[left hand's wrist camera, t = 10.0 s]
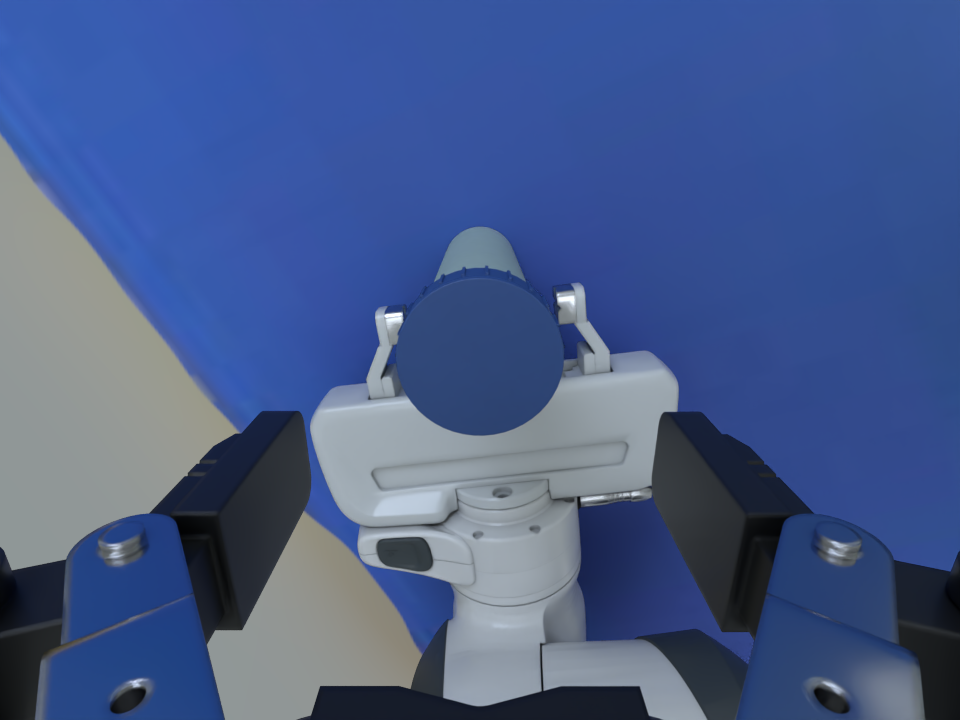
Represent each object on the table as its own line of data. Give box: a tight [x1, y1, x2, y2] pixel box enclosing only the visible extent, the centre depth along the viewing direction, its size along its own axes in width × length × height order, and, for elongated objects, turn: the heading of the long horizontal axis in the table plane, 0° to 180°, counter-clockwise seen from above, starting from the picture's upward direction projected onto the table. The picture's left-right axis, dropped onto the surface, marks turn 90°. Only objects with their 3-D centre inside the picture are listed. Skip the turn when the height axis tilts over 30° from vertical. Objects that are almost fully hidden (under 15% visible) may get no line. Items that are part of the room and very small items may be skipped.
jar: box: [434, 227, 526, 282], centre depth 25 cm, size 4×4×18 cm
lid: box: [395, 265, 565, 436], centre depth 17 cm, size 6×6×2 cm
